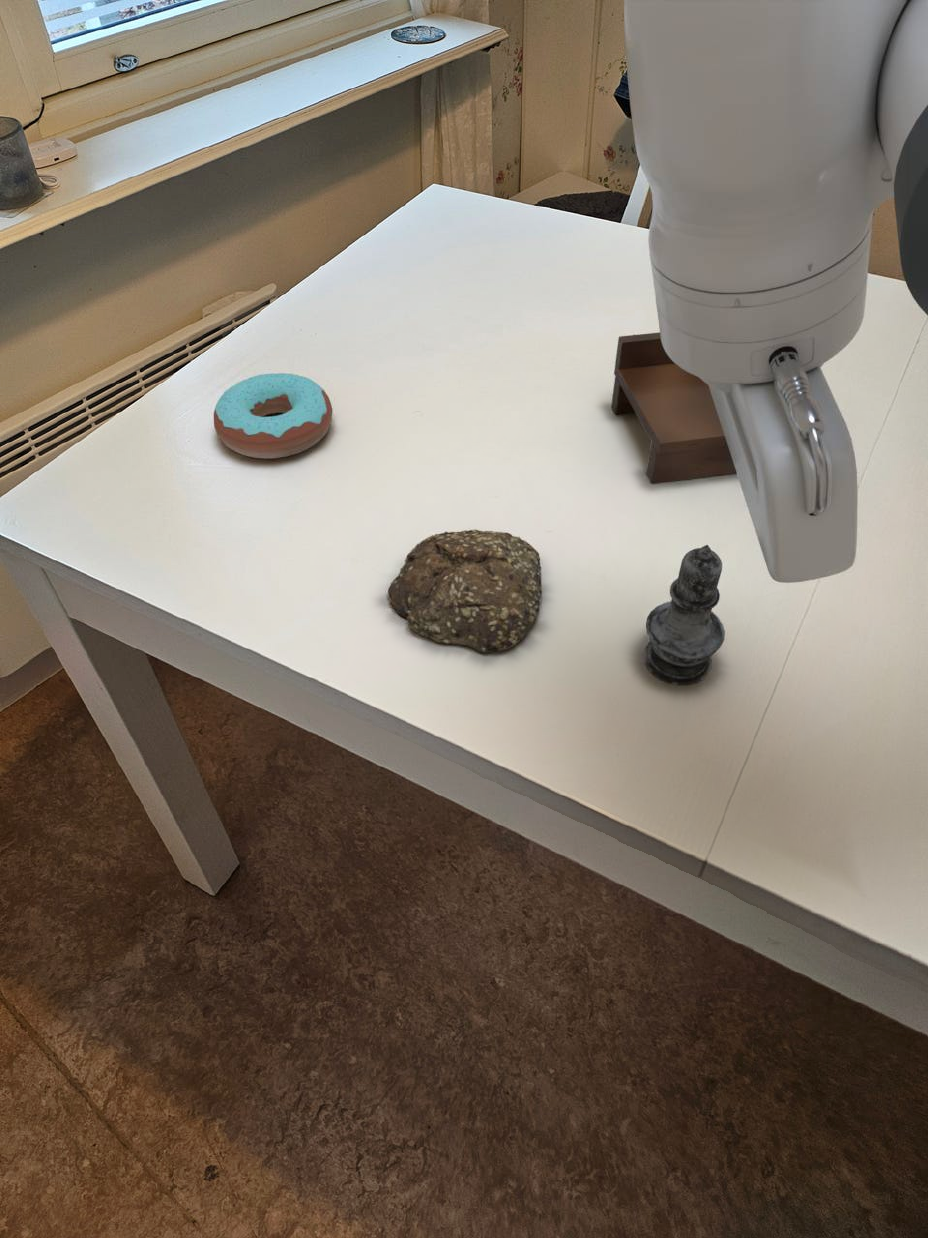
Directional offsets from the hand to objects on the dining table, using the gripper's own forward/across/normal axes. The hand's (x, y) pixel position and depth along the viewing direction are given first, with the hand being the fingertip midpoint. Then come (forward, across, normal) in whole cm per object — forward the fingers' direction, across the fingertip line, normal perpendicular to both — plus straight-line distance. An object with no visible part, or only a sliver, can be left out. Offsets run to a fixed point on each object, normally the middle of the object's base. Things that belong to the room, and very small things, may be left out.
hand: (763, 501), depth 49 cm
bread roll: (+17, +12, +22) cm, 30 cm away
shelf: (+26, +33, -2) cm, 42 cm away
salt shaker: (+20, +4, +6) cm, 22 cm away
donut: (+14, +36, +41) cm, 56 cm away
